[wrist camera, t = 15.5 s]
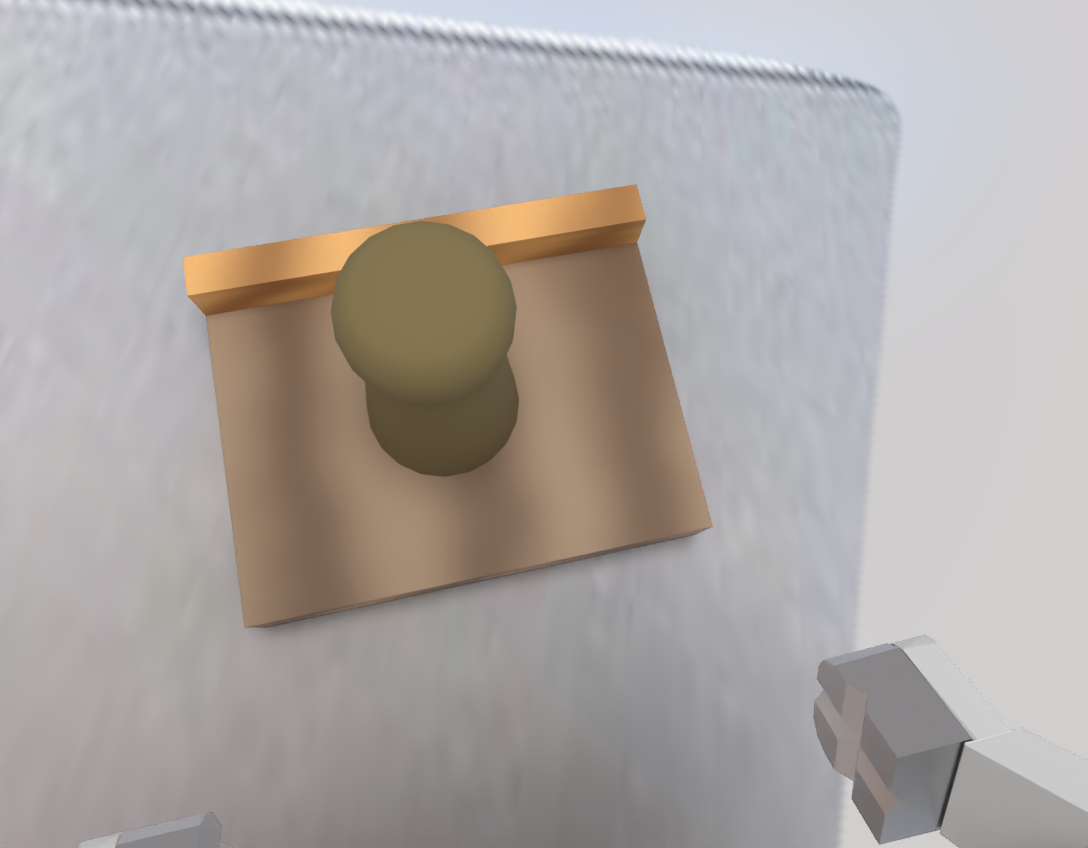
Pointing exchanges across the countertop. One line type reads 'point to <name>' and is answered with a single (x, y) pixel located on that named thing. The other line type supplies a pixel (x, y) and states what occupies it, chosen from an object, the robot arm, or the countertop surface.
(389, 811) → the countertop surface
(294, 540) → the dock
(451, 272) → the cork
